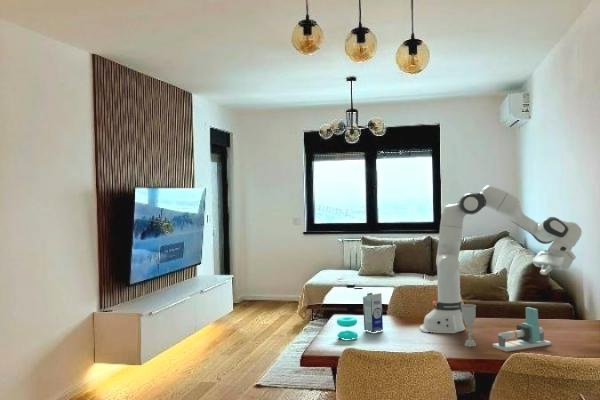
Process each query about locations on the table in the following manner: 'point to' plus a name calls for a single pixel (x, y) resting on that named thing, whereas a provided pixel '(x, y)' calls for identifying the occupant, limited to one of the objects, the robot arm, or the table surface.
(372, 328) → the milk carton
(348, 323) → the donuts
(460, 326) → the robot arm
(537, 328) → the teal notched saddle block
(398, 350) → the table surface
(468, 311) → the chalice
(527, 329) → the dark gray block
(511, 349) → the pipe stand
